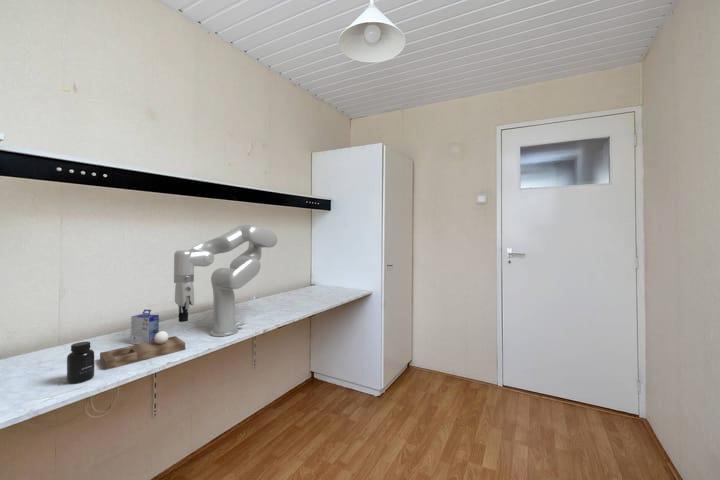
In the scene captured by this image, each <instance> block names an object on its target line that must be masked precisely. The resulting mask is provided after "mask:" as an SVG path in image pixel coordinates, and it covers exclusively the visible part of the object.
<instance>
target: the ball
mask: <svg viewBox="0 0 720 480" xmlns="http://www.w3.org/2000/svg"><path fill="white" fill-rule="evenodd" d="M169 336H170V335H169V333H167V332H166V331H164V330H163V331H162V330H161V331H160V330H159V332H158V333H157V334H156V335H155V337H154V340H155V342H156V343H158V344H163V343H165V342H166V341H167V340H168V338H169Z"/></svg>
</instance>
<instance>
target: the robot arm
mask: <svg viewBox="0 0 720 480" xmlns="http://www.w3.org/2000/svg"><path fill="white" fill-rule="evenodd" d="M246 242H248V247H247V249H246V250H245V251H244V252H242V253H241V254H239V255H238V256H236V258H234V259H233V260H232V261H231V263H230V264H229V267H220V268H217V269H215V270H214V271H213V272H212V273H211V277H210V283H211V287H212V294H213V329H211V330H210V331H209V334H210V336H213V337H227V336H232V335H234V334H236V333H238V332H239V327H241V326H245V321H244V320H243V321H236V319H235V318H236V316H235V315H236V313H235V311H236V305H235V304H236V301H235V300H236V297H235V296H236V295H235V291H234V290H238V289H241V288H242V287H244V286H246V285H247V283H249V282H250V281H252V280H253V279H254V278H255V277H256V276H257V275H258V274H259V272H260V270H261V262H260V260H261V258H262V248H269V249H270V248H273V247H275V246H276V245H277V243H278V237H277V235H276V233H275V232H273V231H272V230H268V229H266V228H264V227H261V226H258V225H255V224H242V225H238V226H237V227H235V228H233V229H231V230H230V231H228V232H225V233H223V234H222V235H220V236H218V237H214V238H212V239H210V240H207V241H204V242H201V243H199V244H197V245H196V246H194V247H192V248H190V249H188V250H176V251H175V252H174V256H173V259H174V260H173V283H174V284H175V286H174V287H175V288H174V302H175V305H177V306H178V322H180V323H185V322H188V321H189V310H190V306H194V305H195V291H194V289H195V288H194V281H195V279H194V278H195V277H194V276H195V274H194V273H195V267H208V266H211V265H212V264H213V263H214V261H215V255H217V254H224V253H228V252H231V251H233V250H234V249H236V248H238V247H240V246H241V245H243V244H244V243H246Z"/></svg>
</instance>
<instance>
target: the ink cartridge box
mask: <svg viewBox="0 0 720 480" xmlns="http://www.w3.org/2000/svg"><path fill="white" fill-rule="evenodd" d="M151 311H152V309H144V310H143V311H142V313H141V314H136V315H133V316H130V317H131V318H130V320H131V321H130V344H131V345H137V344H142V343H146V342H151V341H155V340H154V337H155V335H156V334H157V333H158V332H160V330H159V329H160V327H159V326H160V325H159V323H160V321H159V320H160V317H159V314H151Z"/></svg>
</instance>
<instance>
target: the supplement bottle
mask: <svg viewBox="0 0 720 480" xmlns="http://www.w3.org/2000/svg"><path fill="white" fill-rule="evenodd" d="M94 376H95V351H94V350H93V349H92V347H91V342H90V341H79V342H75V343H72V344H71V345H70V353H69V354H67V356H66V382H67V383H68V384H73V385H74V384H80V383H84V382H87V381H89V380H91V379H93V378H94Z"/></svg>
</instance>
